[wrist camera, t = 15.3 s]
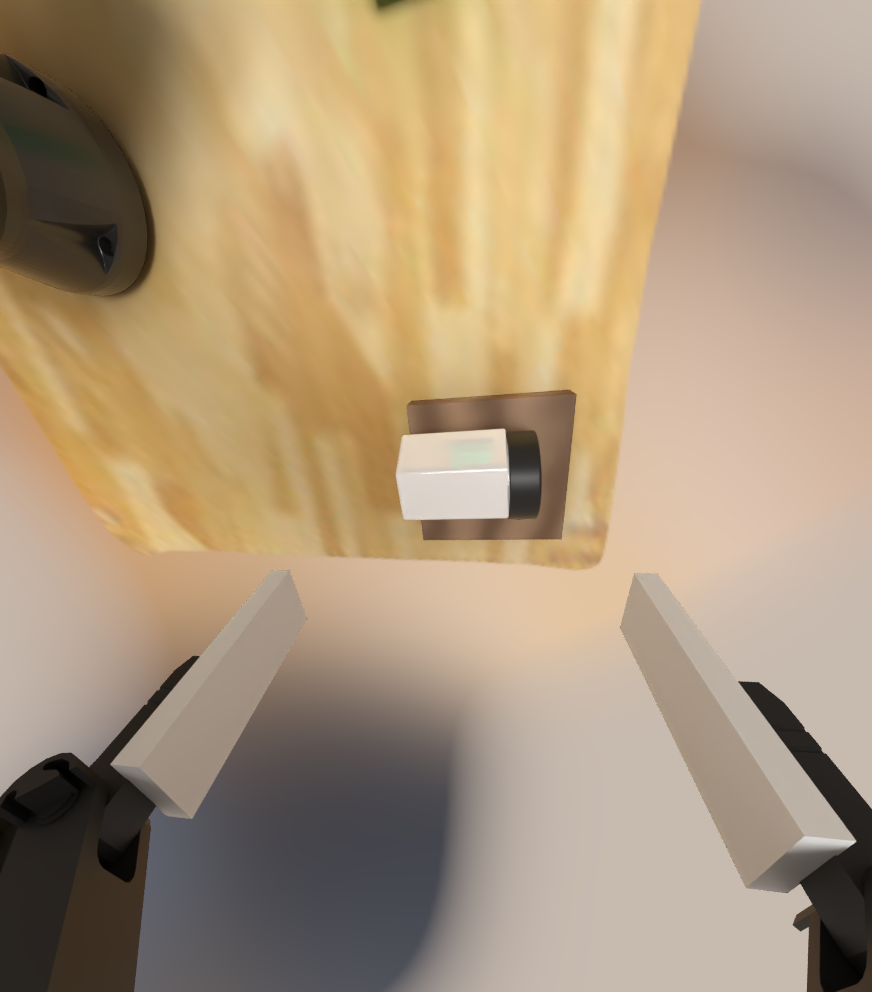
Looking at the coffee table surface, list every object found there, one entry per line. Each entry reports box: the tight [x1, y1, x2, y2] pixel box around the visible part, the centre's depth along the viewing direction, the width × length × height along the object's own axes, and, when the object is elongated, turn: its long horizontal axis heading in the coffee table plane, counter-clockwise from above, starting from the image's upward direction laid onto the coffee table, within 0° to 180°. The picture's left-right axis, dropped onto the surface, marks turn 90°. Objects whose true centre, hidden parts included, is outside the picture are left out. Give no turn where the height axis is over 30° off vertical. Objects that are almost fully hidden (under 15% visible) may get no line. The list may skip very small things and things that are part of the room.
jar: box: [396, 429, 542, 520], centre depth 30 cm, size 9×8×12 cm
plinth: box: [407, 390, 576, 540], centre depth 35 cm, size 16×16×2 cm
